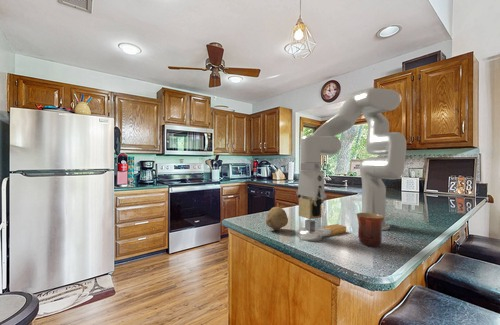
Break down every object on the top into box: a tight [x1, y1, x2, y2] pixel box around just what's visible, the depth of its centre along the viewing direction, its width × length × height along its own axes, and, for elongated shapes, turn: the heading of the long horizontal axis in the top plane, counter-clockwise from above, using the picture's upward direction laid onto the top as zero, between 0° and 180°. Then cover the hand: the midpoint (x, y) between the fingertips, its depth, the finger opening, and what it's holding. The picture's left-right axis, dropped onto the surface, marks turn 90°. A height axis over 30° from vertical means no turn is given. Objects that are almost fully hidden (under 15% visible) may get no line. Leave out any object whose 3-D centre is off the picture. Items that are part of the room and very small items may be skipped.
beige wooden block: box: [298, 197, 323, 220], centre depth 86 cm, size 6×6×7 cm
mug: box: [356, 212, 384, 248], centre depth 78 cm, size 12×9×10 cm
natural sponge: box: [265, 206, 289, 231], centre depth 94 cm, size 9×9×10 cm
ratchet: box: [297, 219, 347, 242], centre depth 89 cm, size 22×9×6 cm, turn 118°
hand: (310, 213), depth 86 cm, fingers closed on beige wooden block, 6 cm apart
